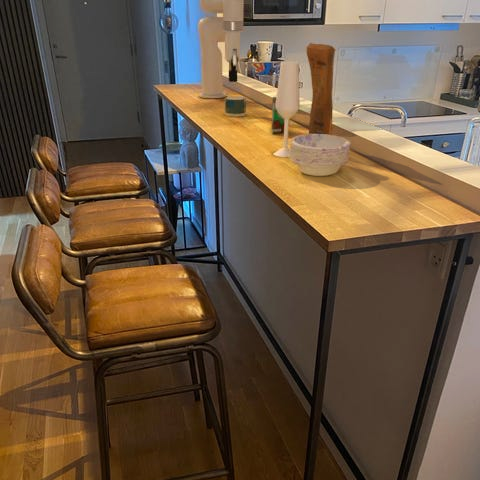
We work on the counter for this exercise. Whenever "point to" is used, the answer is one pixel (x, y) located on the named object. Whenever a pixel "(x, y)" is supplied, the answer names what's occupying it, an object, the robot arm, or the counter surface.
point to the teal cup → (235, 106)
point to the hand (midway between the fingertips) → (232, 81)
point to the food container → (277, 120)
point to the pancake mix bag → (321, 87)
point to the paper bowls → (319, 153)
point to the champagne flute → (287, 98)
